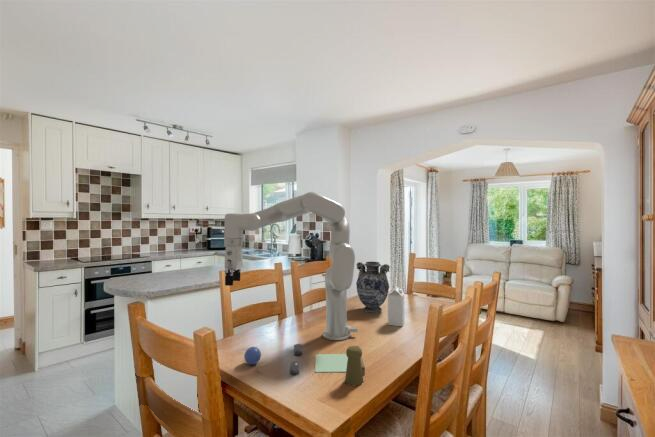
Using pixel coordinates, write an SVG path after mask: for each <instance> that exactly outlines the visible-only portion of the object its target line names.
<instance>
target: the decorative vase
mask: <svg viewBox="0 0 655 437" xmlns="http://www.w3.org/2000/svg"><path fill="white" fill-rule="evenodd" d="M390 268H391V267H390V265H389V264H387V263H384V264H381V262H379V261H366V263H363V262H357V263H356V270H358V271H359V272H358V275H357V276H358V277H357V281H356V293H357V296H358V298H359V300H360V302H361V303H362V305H364V307H363V311H364V312H366V311H367V312H366V313H371V312H372V314H373V313H374V314H376V313H375V312H378V313H380V312H382V311H383V309H382V308H381V307H380V306H382V305H383V304H384V303H385V301H386V300H387V298H388V295H389V290H390V283H389V280H388V276H387V273H390Z"/></svg>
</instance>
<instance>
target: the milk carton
mask: <svg viewBox="0 0 655 437" xmlns="http://www.w3.org/2000/svg"><path fill="white" fill-rule="evenodd" d="M404 324H405V293H404V291H403V289H402V288H400V287H398V285H395V287H394V289H392V290H391V291H390V292H388V295H387V325H388V326H395V327H404Z"/></svg>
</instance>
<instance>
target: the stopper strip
mask: <svg viewBox="0 0 655 437" xmlns="http://www.w3.org/2000/svg"><path fill="white" fill-rule="evenodd" d="M357 346H358V347H360V345H357ZM360 359H361V366H362V374H363V376H365V374H366V372H365V371H366V368H365V367H366V366H365V363H364V359H363V357H361V358H360Z"/></svg>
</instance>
